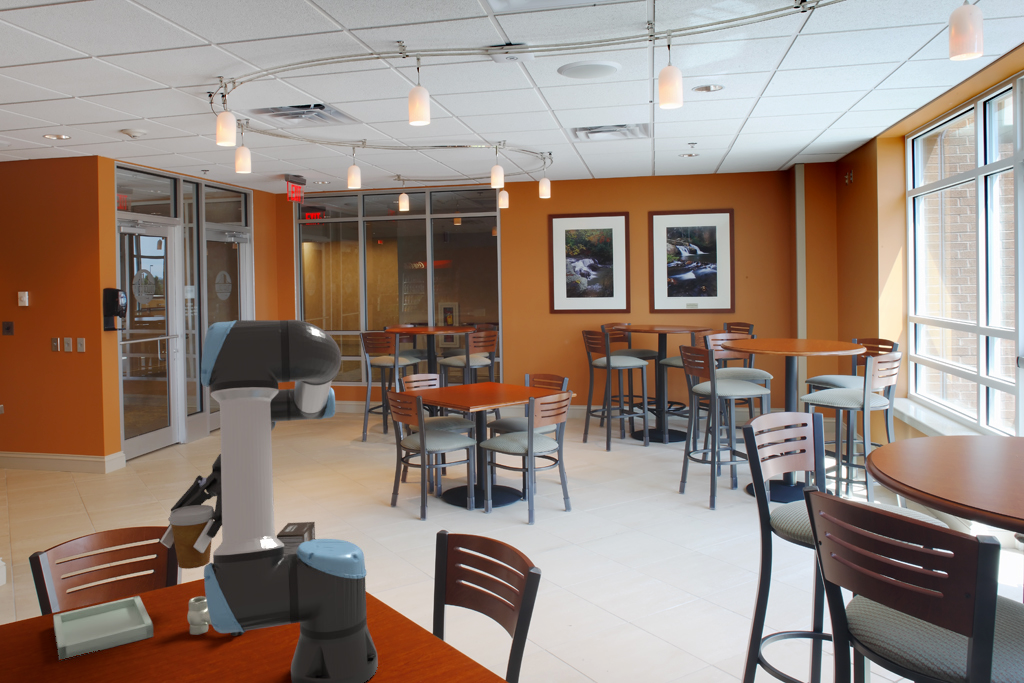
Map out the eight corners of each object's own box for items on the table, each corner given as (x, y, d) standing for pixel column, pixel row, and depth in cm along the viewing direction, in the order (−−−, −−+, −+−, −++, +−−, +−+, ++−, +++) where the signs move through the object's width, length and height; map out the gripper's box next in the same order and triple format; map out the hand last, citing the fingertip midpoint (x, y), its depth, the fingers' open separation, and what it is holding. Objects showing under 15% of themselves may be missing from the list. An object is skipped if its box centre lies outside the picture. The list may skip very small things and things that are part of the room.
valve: (179, 637, 141) (233, 642, 138) (178, 605, 140) (231, 609, 138) (200, 623, 147) (252, 627, 145) (199, 592, 147) (250, 596, 144)
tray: (153, 636, 141) (152, 624, 141) (59, 661, 132) (58, 648, 132) (139, 606, 156) (139, 595, 156) (53, 626, 146) (53, 615, 146)
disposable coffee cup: (226, 557, 159) (224, 504, 158) (200, 572, 149) (198, 517, 149) (188, 555, 160) (186, 503, 160) (160, 570, 151) (158, 515, 150)
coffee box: (290, 589, 164) (287, 521, 163) (317, 588, 164) (315, 521, 163) (278, 606, 155) (275, 534, 154) (307, 605, 155) (305, 533, 154)
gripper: (279, 472, 164) (229, 561, 150) (210, 466, 173) (156, 549, 159) (262, 454, 159) (208, 544, 145) (191, 448, 168) (134, 533, 154)
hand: (181, 547), depth 152 cm, fingers closed on disposable coffee cup, 9 cm apart
